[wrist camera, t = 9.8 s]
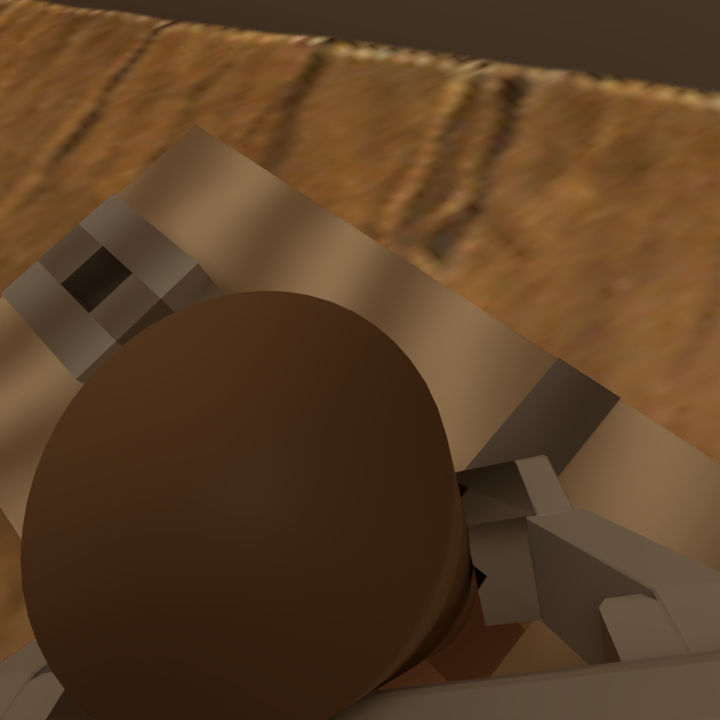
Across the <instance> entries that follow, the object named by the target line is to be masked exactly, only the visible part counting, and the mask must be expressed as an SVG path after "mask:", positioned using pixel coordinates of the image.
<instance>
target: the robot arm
mask: <svg viewBox="0 0 720 720" xmlns="http://www.w3.org/2000/svg"><path fill="white" fill-rule="evenodd" d="M455 473H456V478H457V483H458V487H459V491H460V496H461V500H462V504H463V509H464V513H465V517H466V523H467V528H468V534H469V543H470V552H471V558H472V563H473V567H474V572H475V577H476V582H477V587H478V592H479V597H480V602H481V606H482V611H483V615H484V620H485V625H486V626H490V625H500V624H510V623H519V622H529V621H539V620H543V623H544V624H545V625H546V626H547V627H548V628H549V629H550V630H551V631H552V632H554V633H555V634H556V635H557V636H558V637H559V638H560V639H561V640H562V641H563V642H564V643H566V644H567V645H568V646H569V647H570V648H571V649H572V650H573V651H574V652H575V653H577V654H578V655H579V656H580V657H581V658H582V659H583V660H584V661H585V662H586V663H587V664H589V665H588V666H580V667H571V668H563V669H554V670H546V671H538V672H529V673H521V674H512V675H504V676H495V677H487V678H478V679H470V680H461V681H453V682H444V683H436V684H427V685H419V686H410V687H402V688H393V689H385V690H376V691H372V692H371V693H370V694H368V695H367V696H365V697H364V698H362V699H360V700H359V701H357V702H355V703H354V704H352V705H350V706H349V707H347V708H345V709H344V710H342V711H340V712H339V713H337V714H336V715H334V716H332V717H331V718H329V719H327V720H720V572H718V571H716V570H714V569H712V568H710V567H708V566H706V565H703V564H701V563H699V562H697V561H695V560H693V559H691V558H688V557H686V556H684V555H682V554H680V553H678V552H676V551H674V550H671V549H669V548H667V547H665V546H663V545H661V544H659V543H656V542H654V541H652V540H650V539H648V538H646V537H644V536H642V535H639V534H637V533H635V532H633V531H631V530H629V529H627V528H624V527H622V526H620V525H618V524H616V523H614V522H612V521H610V520H607V519H605V518H603V517H601V516H599V515H597V514H595V513H592V512H590V511H588V510H586V509H584V508H583V509H576V510H574V508H573V506H572V504H571V502H570V500H569V498H568V496H567V494H566V492H565V490H564V488H563V487H562V485H561V483H560V481H559V479H558V477H557V475H556V473H555V471H554V469H553V467H552V465H551V463H550V461H549V459H548V457H547V456H545V455H540V456H535V457H531V458H526V459H521V460H516V461H510V462H505V463H500V464H495V465H490V466H484V467H479V468H474V469H469V470H464V471H459V472H455ZM0 720H95V719H94V718H92V717H91V716H89V715H88V714H87V713H86V712H85V711H84V710H83V709H82V708H81V707H80V706H79V705H78V704H77V703H76V702H75V701H74V700H73V699H72V698H71V697H70V696H69V695H68V693H67V692H66V691H65V689H64V688H63V686H62V685H61V684H60V682H59V681H58V679H57V678H56V677H55V675H54V674H53V672H52V671H51V669H50V667H49V665H48V663H47V662H46V660H45V658H44V656H43V654H42V652H41V650H40V648H39V646H38V644H37V641H36V638H35V639H34V640H32V641H31V642H30V643H28V644H27V645H25V646H24V647H22V648H21V649H20V650H18V651H17V652H15V653H14V654H12V655H11V656H10V657H8V658H7V659H5V660H4V661H2V662H1V663H0Z"/></svg>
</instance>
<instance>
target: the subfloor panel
mask: <svg viewBox="0 0 720 720" xmlns="http://www.w3.org/2000/svg"><path fill="white" fill-rule="evenodd" d="M253 291H286V292H292V293H299V294H305V295H310V296H314V297H317V298H320V299H324V300H327V301H331V302H333V303H336V304H338V305H340V306H342V307H344V308H347V309H349V310H351V311H353V312H355V313H357V314H358V315H360V316H361V317H363V318H365V319H366V320H368V321H369V322H371V323H373V324H374V325H376V326H377V327H378V328H379V329H380V330H381V331H383V332H384V333H385V334H386V335H387V336H389V337H390V338H391V339H392V340H393V341H394V342H395V343H396V344H397V345H398V346H399V347H400V348H401V350H402V351H403V352H404V353H405V354H406V355H407V356H408V357H409V359H410V360H411V361H412V363H413V364H414V366H415V367H416V369H417V370H418V372H419V373H420V375H421V376H422V378H423V379H424V381H425V382H426V384H427V386H428V388H429V390H430V392H431V395H432V397H433V399H434V401H435V403H436V405H437V407H438V410H439V413H440V416H441V419H442V423H443V426H444V429H445V432H446V435H447V439H448V444H449V448H450V452H451V457H452V461H453V465H454V470H455V472H459V471H464V470H469V469H474V468H479V467H484V466H490V465H495V464H500V463H505V462H510V461H516V460H521V459H526V458H531V457H535V456H540V455H545V456H547V457H548V459H549V461H550V463H551V465H552V467H553V469H554V471H555V473H556V475H557V477H558V479H559V481H560V483H561V485H562V487H563V488H564V490H565V492H566V494H567V496H568V498H569V500H570V502H571V504H572V506H573V508H574V510H576V509H583V508H584V509H586V510H588V511H590V512H592V513H595V514H597V515H599V516H601V517H603V518H605V519H607V520H610V521H612V522H614V523H616V524H618V525H620V526H622V527H624V528H627V529H629V530H631V531H633V532H635V533H637V534H639V535H642V536H644V537H646V538H648V539H650V540H652V541H654V542H656V543H659V544H661V545H663V546H665V547H667V548H669V549H671V550H674V551H676V552H678V553H680V554H682V555H684V556H686V557H688V558H691V559H693V560H695V561H697V562H699V563H701V564H703V565H706V566H708V567H710V568H712V569H714V570H716V571H718V572H720V464H719V463H718V462H716V461H715V460H713V459H712V458H710V457H708V456H707V455H705V454H704V453H702V452H701V451H699V450H698V449H696V448H695V447H693V446H691V445H690V444H688V443H687V442H685V441H684V440H682V439H681V438H679V437H678V436H676V435H674V434H673V433H671V432H670V431H668V430H667V429H665V428H664V427H662V426H661V425H659V424H657V423H656V422H654V421H653V420H651V419H650V418H648V417H647V416H645V415H644V414H642V413H640V412H639V411H637V410H636V409H634V408H633V407H631V406H630V405H628V404H627V403H625V402H623V401H622V400H620V397H618V396H617V395H615V394H614V393H612V392H611V391H609V390H608V389H606V388H604V387H603V386H601V385H600V384H598V383H597V382H595V381H594V380H592V379H591V378H589V377H587V376H586V375H584V374H583V373H581V372H580V371H578V370H577V369H575V368H574V367H572V366H570V365H569V364H567V363H566V362H564V361H563V360H561V359H560V358H558V359H557V358H555V357H554V356H552V355H551V354H549V353H548V352H546V351H545V350H543V349H542V348H540V347H538V346H537V345H535V344H534V343H532V342H531V341H529V340H528V339H526V338H525V337H523V336H521V335H520V334H518V333H517V332H515V331H514V330H512V329H511V328H509V327H508V326H506V325H504V324H503V323H501V322H500V321H498V320H497V319H495V318H494V317H492V316H491V315H489V314H487V313H486V312H484V311H483V310H481V309H480V308H478V307H477V306H475V305H474V304H472V303H470V302H469V301H467V300H466V299H464V298H463V297H461V296H460V295H458V294H457V293H455V292H453V291H452V290H450V289H449V288H447V287H446V286H444V285H443V284H441V283H440V282H438V281H436V280H435V279H433V278H432V277H430V276H429V275H427V274H426V273H424V272H423V271H421V270H419V269H418V268H416V267H415V266H413V265H412V264H410V263H409V262H407V261H406V260H404V259H402V258H401V257H399V256H398V255H396V254H395V253H393V252H392V251H390V250H389V249H387V248H385V247H384V246H382V245H381V244H379V243H378V242H376V241H375V240H373V239H372V238H370V237H368V236H367V235H365V234H364V233H362V232H361V231H359V230H358V229H356V228H355V227H353V226H351V225H350V224H348V223H347V222H345V221H344V220H342V219H341V218H339V217H338V216H336V215H334V214H333V213H331V212H330V211H328V210H327V209H325V208H324V207H322V206H321V205H319V204H317V203H316V202H314V201H313V200H311V199H310V198H308V197H307V196H305V195H304V194H302V193H300V192H299V191H297V190H296V189H294V188H293V187H291V186H290V185H288V184H287V183H285V182H283V181H282V180H280V179H279V178H277V177H276V176H274V175H273V174H271V173H270V172H268V171H266V170H265V169H263V168H262V167H260V166H259V165H257V164H256V163H254V162H253V161H251V160H249V159H248V158H246V157H245V156H243V155H242V154H240V153H239V152H237V151H235V150H234V149H232V148H231V147H229V146H228V145H226V144H225V143H223V142H222V141H220V140H218V139H217V138H215V137H214V136H212V135H211V134H209V133H208V132H206V131H205V130H203V129H201V128H200V127H198V126H197V125H195V126H194V127H193V128H192V129H191V130H190V131H188V132H187V133H186V134H185V135H184V136H183V137H182V138H181V139H179V140H178V141H177V142H176V143H175V144H174V145H173V146H172V147H170V148H169V149H168V150H167V151H166V152H165V153H164V154H163V155H161V156H160V157H159V158H158V159H157V160H156V161H155V162H154V163H152V164H151V165H150V166H149V167H148V168H147V169H146V170H145V171H143V172H142V173H141V174H140V175H139V176H138V177H137V178H136V179H134V180H133V181H132V182H131V183H130V184H129V185H128V186H127V187H125V188H124V189H123V190H122V191H121V192H120V193H119V194H118V195H115V194H114V193H113V194H112V195H111V196H110V197H109V198H108V199H107V200H105V201H104V202H103V203H102V204H101V205H100V206H99V207H97V208H96V209H95V210H94V211H93V212H92V213H91V214H90V215H88V216H87V217H86V218H85V219H84V220H83V221H82V222H81V223H79V224H78V225H77V226H76V227H75V228H74V229H73V230H72V231H70V232H69V233H68V234H67V235H66V236H65V237H64V238H62V239H61V240H60V241H59V242H58V243H57V244H56V245H55V246H53V247H52V248H51V249H50V250H49V251H48V252H47V253H46V254H44V255H43V256H42V257H41V258H40V259H39V260H38V261H37V262H35V263H34V264H33V265H32V266H31V267H30V268H29V269H27V270H26V271H25V272H24V273H23V274H22V275H21V276H20V277H18V278H17V279H16V280H15V281H14V282H13V283H12V284H11V285H9V286H8V287H7V288H6V289H5V290H4V291H3V292H2V293H1V294H2V295H3V297H2V298H0V508H1V509H2V511H3V512H4V514H5V515H6V517H7V518H8V520H9V521H10V523H11V525H12V526H13V528H14V529H15V531H16V532H17V534H18V535H19V537H20V538H21V540H22V528H23V522H24V516H25V510H26V504H27V499H28V496H29V492H30V488H31V485H32V481H33V478H34V474H35V471H36V469H37V466H38V464H39V461H40V459H41V456H42V453H43V451H44V448H45V446H46V444H47V442H48V440H49V438H50V436H51V434H52V432H53V430H54V428H55V427H56V425H57V423H58V421H59V420H60V418H61V416H62V415H63V413H64V412H65V410H66V409H67V407H68V405H69V404H70V402H71V401H72V399H73V398H74V397H75V395H76V394H77V393H78V392H79V390H80V389H81V388H82V386H83V385H84V384H85V383H86V381H87V380H88V379H89V378H90V377H91V376H92V375H93V373H94V372H95V371H96V370H97V369H98V368H99V367H100V366H101V365H102V364H103V363H104V362H105V361H106V360H107V359H108V358H109V357H110V356H111V355H112V354H114V353H115V352H116V351H117V350H118V349H119V348H121V347H122V346H123V345H124V344H125V343H126V342H128V341H129V340H130V339H132V338H133V337H135V336H136V335H137V334H139V333H140V332H142V331H143V330H144V329H146V328H147V327H149V326H151V325H153V324H154V323H156V322H158V321H160V320H161V319H163V318H165V317H167V316H168V315H170V314H173V313H175V312H177V311H179V310H182V309H184V308H186V307H188V306H191V305H193V304H196V303H199V302H203V301H206V300H209V299H212V298H215V297H220V296H225V295H230V294H235V293H241V292H253ZM455 474H456V473H455ZM588 665H589V664H587V663H586V662H585V661H584V660H583V659H582V658H581V657H580V656H579V655H578V654H577V653H575V652H574V651H573V650H572V649H571V648H570V647H569V646H568V645H567V644H566V643H564V642H563V641H562V640H561V639H560V638H559V637H558V636H557V635H556V634H555V633H554V632H552V631H551V630H550V629H549V628H548V627H547V626H546V625H545V624H544V623H543V620H539V621H529V622H519V623H510V624H500V625H490V626H486V625H485V620H484V615H483V611H482V606H481V602H480V597H479V592H478V587H477V590H476V596H475V601H474V605H473V608H472V610H471V613H470V616H469V618H468V620H467V622H466V624H465V625H464V627H463V628H462V630H461V631H460V633H459V634H458V635H457V636H456V638H455V639H454V640H453V641H452V642H451V643H450V644H449V645H448V646H446V647H445V648H444V649H443V650H441V651H440V652H438V653H437V654H435V655H433V656H432V657H430V658H428V659H427V660H425V661H423V662H422V663H420V664H418V665H417V666H415V667H413V668H412V669H410V670H408V671H407V672H405V673H403V674H402V675H400V676H398V677H397V678H395V679H393V680H392V681H390V682H389V683H387V684H385V685H384V686H382V687H380V688H379V689H377V690H385V689H393V688H402V687H410V686H419V685H427V684H436V683H444V682H453V681H461V680H470V679H478V678H487V677H495V676H504V675H512V674H521V673H529V672H538V671H546V670H554V669H563V668H571V667H580V666H588ZM375 691H376V690H375Z"/></svg>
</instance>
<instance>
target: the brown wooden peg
mask: <svg viewBox="0 0 720 720" xmlns="http://www.w3.org/2000/svg"><path fill="white" fill-rule="evenodd" d="M21 570H22V585H23V592H24V597H25V602H26V607H27V612H28V617H29V620H30V623H31V626H32V629H33V632H34V635H35V638H36V641H37V644H38V646H39V648H40V650H41V652H42V654H43V656H44V658H45V660H46V662H47V663H48V665H49V667H50V669H51V671H52V672H53V674H54V675H55V677H56V678H57V679H58V681H59V682H60V684H61V685H62V686H63V688H64V689H65V691H66V692H67V693H68V695H69V696H70V697H71V698H72V699H73V700H74V701H75V702H76V703H77V704H78V705H79V706H80V707H81V708H82V709H83V710H84V711H85V712H86V713H87V714H88V715H89V716H91V717H92V718H94V719H95V720H327V719H329V718H331V717H332V716H334V715H336V714H337V713H339V712H340V711H342V710H344V709H345V708H347V707H349V706H350V705H352V704H354V703H355V702H357V701H359V700H360V699H362V698H364V697H365V696H367V695H368V694H370V693H371V692H372V691H375V690H377V689H379V688H380V687H382V686H384V685H385V684H387V683H389V682H390V681H392V680H393V679H395V678H397V677H398V676H400V675H402V674H403V673H405V672H407V671H408V670H410V669H412V668H413V667H415V666H417V665H418V664H420V663H422V662H423V661H425V660H427V659H428V658H430V657H432V656H433V655H435V654H437V653H438V652H440V651H441V650H443V649H444V648H445V647H446V646H448V645H449V644H450V643H451V642H452V641H453V640H454V639H455V638H456V636H457V635H458V634H459V633H460V631H461V630H462V628H463V627H464V625H465V624H466V622H467V620H468V618H469V616H470V613H471V610H472V608H473V605H474V601H475V596H476V590H477V582H476V577H475V572H474V567H473V563H472V558H471V552H470V543H469V534H468V528H467V523H466V517H465V513H464V509H463V504H462V500H461V496H460V491H459V487H458V483H457V478H456V474H455V470H454V465H453V461H452V457H451V452H450V448H449V444H448V439H447V435H446V432H445V429H444V426H443V423H442V419H441V416H440V413H439V410H438V407H437V405H436V403H435V401H434V399H433V397H432V395H431V392H430V390H429V388H428V386H427V384H426V382H425V381H424V379H423V378H422V376H421V375H420V373H419V372H418V370H417V369H416V367H415V366H414V364H413V363H412V361H411V360H410V359H409V357H408V356H407V355H406V354H405V353H404V352H403V351H402V350H401V348H400V347H399V346H398V345H397V344H396V343H395V342H394V341H393V340H392V339H391V338H390V337H389V336H387V335H386V334H385V333H384V332H383V331H381V330H380V329H379V328H378V327H377V326H376V325H374V324H373V323H371V322H369V321H368V320H366V319H365V318H363V317H361V316H360V315H358V314H357V313H355V312H353V311H351V310H349V309H347V308H344V307H342V306H340V305H338V304H336V303H333V302H331V301H327V300H324V299H320V298H317V297H314V296H310V295H305V294H299V293H292V292H286V291H253V292H241V293H235V294H230V295H225V296H220V297H215V298H212V299H209V300H206V301H203V302H199V303H196V304H193V305H191V306H188V307H186V308H184V309H182V310H179V311H177V312H175V313H173V314H170V315H168V316H167V317H165V318H163V319H161V320H160V321H158V322H156V323H154V324H153V325H151V326H149V327H147V328H146V329H144V330H143V331H142V332H140V333H139V334H137V335H136V336H135V337H133V338H132V339H130V340H129V341H128V342H126V343H125V344H124V345H123V346H122V347H121V348H119V349H118V350H117V351H116V352H115V353H114V354H112V355H111V356H110V357H109V358H108V359H107V360H106V361H105V362H104V363H103V364H102V365H101V366H100V367H99V368H98V369H97V370H96V371H95V372H94V373H93V375H92V376H91V377H90V378H89V379H88V380H87V381H86V383H85V384H84V385H83V386H82V388H81V389H80V390H79V392H78V393H77V394H76V395H75V397H74V398H73V399H72V401H71V402H70V404H69V405H68V407H67V409H66V410H65V412H64V413H63V415H62V416H61V418H60V420H59V421H58V423H57V425H56V427H55V428H54V430H53V432H52V434H51V436H50V438H49V440H48V442H47V444H46V446H45V448H44V451H43V453H42V456H41V459H40V461H39V464H38V466H37V469H36V471H35V474H34V478H33V481H32V485H31V488H30V492H29V496H28V499H27V504H26V510H25V516H24V522H23V528H22V544H21Z"/></svg>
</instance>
